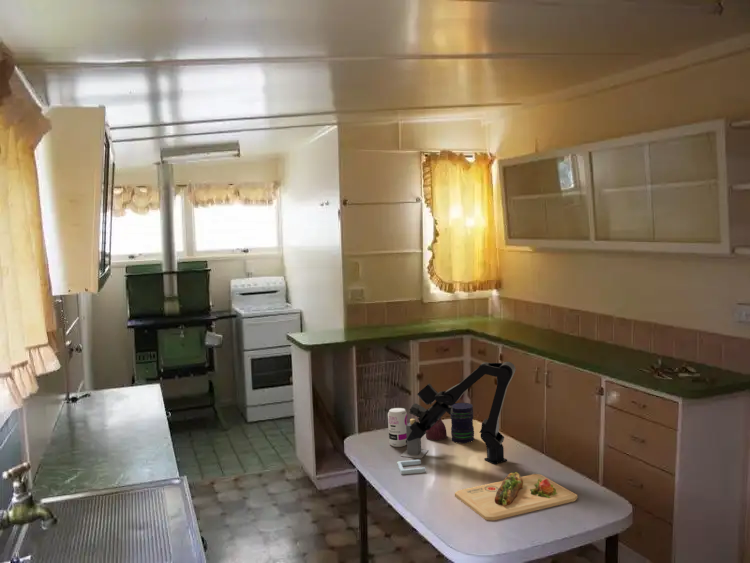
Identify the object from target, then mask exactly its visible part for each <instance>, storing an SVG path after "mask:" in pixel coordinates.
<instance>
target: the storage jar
mask: <svg viewBox="0 0 750 563" xmlns="http://www.w3.org/2000/svg"><path fill="white" fill-rule="evenodd" d="M452 406H453V408H452V409H453V412H452V413H451V414H449V415H450V420H451V427H450V430H451V431H450V434H451V441H452V442H453V441H454V442H453V443H456V442H457V443H456V444H468V443H467V442H470V443H472V442H474V441H475V437H474V436H475V428H474V406H473V404H472V403H469V402H456V403H455V404H454V405H452ZM473 440H474V441H473ZM471 441H472V442H471Z"/></svg>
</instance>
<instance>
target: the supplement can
mask: <svg viewBox="0 0 750 563" xmlns="http://www.w3.org/2000/svg"><path fill="white" fill-rule="evenodd" d="M407 424H408V412H407V409H406V408H404V407H392V408H390V409H389V410H388V412H387V425H388V427H387V428H388V441H389V442H388V443H389V445H391V447H394V448H400V447H402V448H403V447H405V446H407V435H406V425H407Z"/></svg>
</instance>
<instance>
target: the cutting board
mask: <svg viewBox="0 0 750 563" xmlns="http://www.w3.org/2000/svg"><path fill="white" fill-rule="evenodd" d="M454 498H456V499H457V500H459V501H460V500H461V501H460V502H461V503H463V504H464V505H465V506H467V507H468V508H469V507H470V508H469V509H471V510H472V511H475V513H476V514H477V515H478V514H479V515H478V516H479V517H481V518H483V520H485V521H498V520H502V519H507V518H510V517H513V516H514V517H515V516H518V515H523V514H528V513H530V512H534V511H535V512H536V511H538V510H544V509H547V508H551V507H555V506H560V505H564V504H565V505H566V504H568V503H574V502H575V501H577V499H578V494H576V492H575V493H574V492H573V491H571V490H570V489H568V488H566V487H564V486H562V485H560V484H558V483H557V482H555V481H553V480H552V479H550V478H548V477H546V476H544V475H542V474H540V473H533V474H532V473H531V474H527V475H524V476H521V474H520V473H518V471H515V472H510V473H509V474H507V476H506V477H505V478H504V479H503V480H500V481H496V482H491V483H485V484H482V485H481V484H480V485H477V486H473V487H468V488H462V489H458V490H457V491H456V492H454Z"/></svg>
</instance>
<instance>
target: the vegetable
mask: <svg viewBox="0 0 750 563" xmlns="http://www.w3.org/2000/svg"><path fill="white" fill-rule="evenodd" d="M447 435H448V434H447V427H446V425H445V423H444V421H443V419H442V417H441V418H440V419H439V420H438V421H437V422H436V423H435V424H434V425H433V426H432V427H431V428H430V429H429V430H427V431H426V434H425V439H426V438H427V440H428V441H442V440H445V439H446V438H447Z"/></svg>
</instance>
